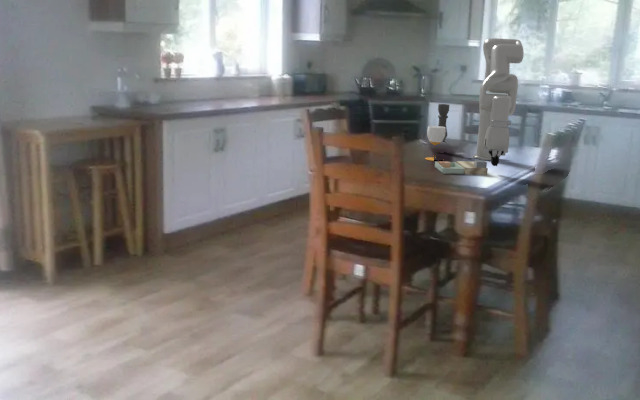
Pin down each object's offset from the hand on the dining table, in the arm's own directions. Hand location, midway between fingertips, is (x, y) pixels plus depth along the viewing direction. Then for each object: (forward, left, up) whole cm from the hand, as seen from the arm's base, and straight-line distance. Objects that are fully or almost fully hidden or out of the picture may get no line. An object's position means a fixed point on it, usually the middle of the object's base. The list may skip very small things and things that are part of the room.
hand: (494, 165), depth 301 cm
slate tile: (+6, 0, -1) cm, 7 cm away
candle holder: (+12, -56, -4) cm, 57 cm away
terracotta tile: (+20, -9, -1) cm, 22 cm away
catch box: (+19, -5, -4) cm, 20 cm away
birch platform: (+9, -5, -4) cm, 11 cm away
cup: (+20, -33, -4) cm, 38 cm away
